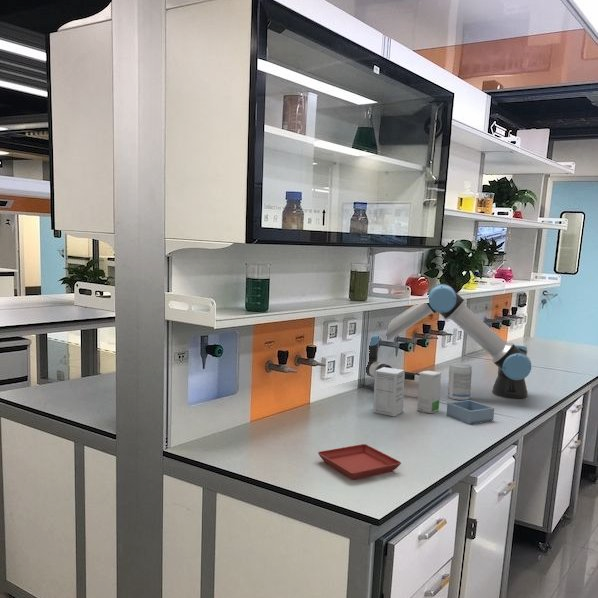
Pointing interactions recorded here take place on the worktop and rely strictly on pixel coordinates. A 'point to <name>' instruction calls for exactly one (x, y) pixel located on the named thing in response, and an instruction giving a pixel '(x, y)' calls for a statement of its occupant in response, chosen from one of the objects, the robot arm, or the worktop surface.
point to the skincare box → (429, 391)
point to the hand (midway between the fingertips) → (413, 382)
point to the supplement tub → (459, 381)
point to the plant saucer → (359, 461)
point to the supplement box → (388, 391)
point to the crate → (470, 411)
